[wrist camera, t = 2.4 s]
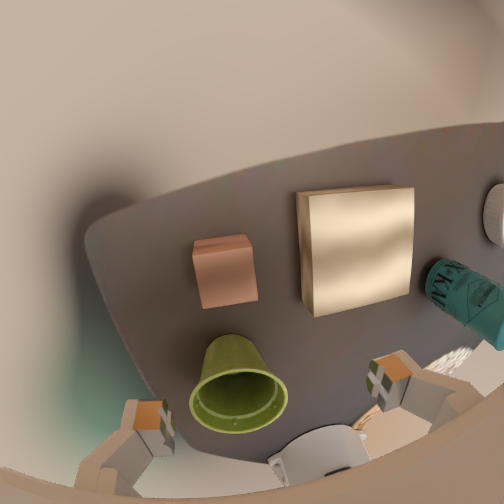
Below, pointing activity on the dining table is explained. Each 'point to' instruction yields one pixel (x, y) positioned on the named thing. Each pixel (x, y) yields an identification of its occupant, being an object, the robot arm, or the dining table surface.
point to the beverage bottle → (468, 299)
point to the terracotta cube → (225, 270)
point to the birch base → (354, 245)
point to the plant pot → (236, 388)
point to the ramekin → (495, 215)
